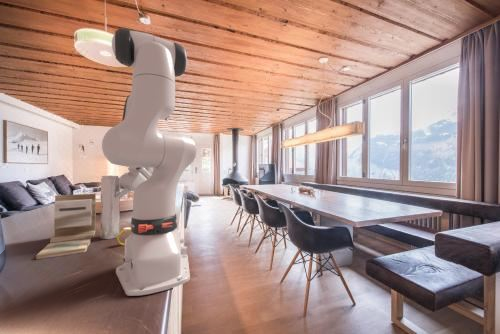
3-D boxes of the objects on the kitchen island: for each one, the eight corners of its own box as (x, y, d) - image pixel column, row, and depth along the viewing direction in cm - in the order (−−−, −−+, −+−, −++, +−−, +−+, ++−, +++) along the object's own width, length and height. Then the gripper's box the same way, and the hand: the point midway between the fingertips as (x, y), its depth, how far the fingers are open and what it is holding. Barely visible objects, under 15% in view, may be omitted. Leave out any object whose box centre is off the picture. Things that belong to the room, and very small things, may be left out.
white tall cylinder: (110, 239, 83) (110, 175, 83) (96, 238, 84) (96, 175, 85) (123, 234, 89) (123, 175, 90) (110, 233, 91) (110, 175, 91)
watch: (134, 242, 81) (136, 226, 82) (136, 244, 79) (137, 228, 80) (116, 244, 78) (117, 228, 78) (117, 246, 76) (119, 229, 76)
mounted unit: (93, 237, 86) (93, 195, 86) (50, 242, 80) (50, 197, 80) (95, 232, 93) (95, 193, 93) (56, 237, 86) (56, 195, 86)
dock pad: (85, 251, 71) (85, 248, 71) (36, 259, 65) (36, 255, 65) (90, 241, 81) (90, 237, 81) (48, 246, 75) (49, 243, 75)
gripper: (125, 167, 101) (100, 189, 93) (144, 167, 88) (117, 192, 80) (135, 176, 104) (112, 198, 97) (154, 177, 91) (129, 203, 83)
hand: (114, 196), depth 88 cm, fingers open, 8 cm apart
